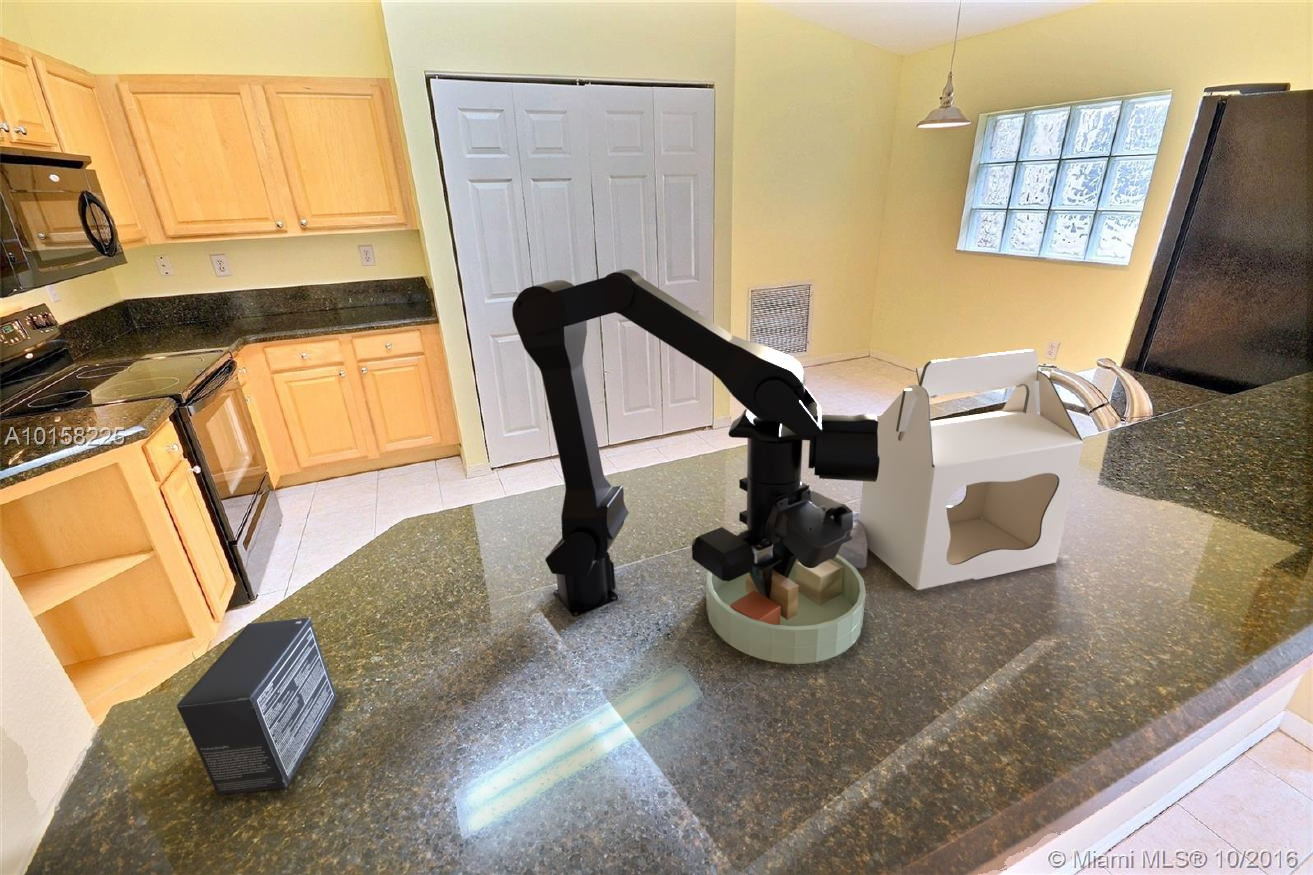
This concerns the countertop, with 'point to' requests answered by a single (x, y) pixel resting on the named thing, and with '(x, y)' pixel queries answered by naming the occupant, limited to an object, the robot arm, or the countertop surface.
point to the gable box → (972, 474)
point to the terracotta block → (758, 608)
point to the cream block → (820, 581)
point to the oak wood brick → (780, 593)
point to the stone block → (855, 545)
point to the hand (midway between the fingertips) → (770, 595)
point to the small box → (260, 706)
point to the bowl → (790, 621)
